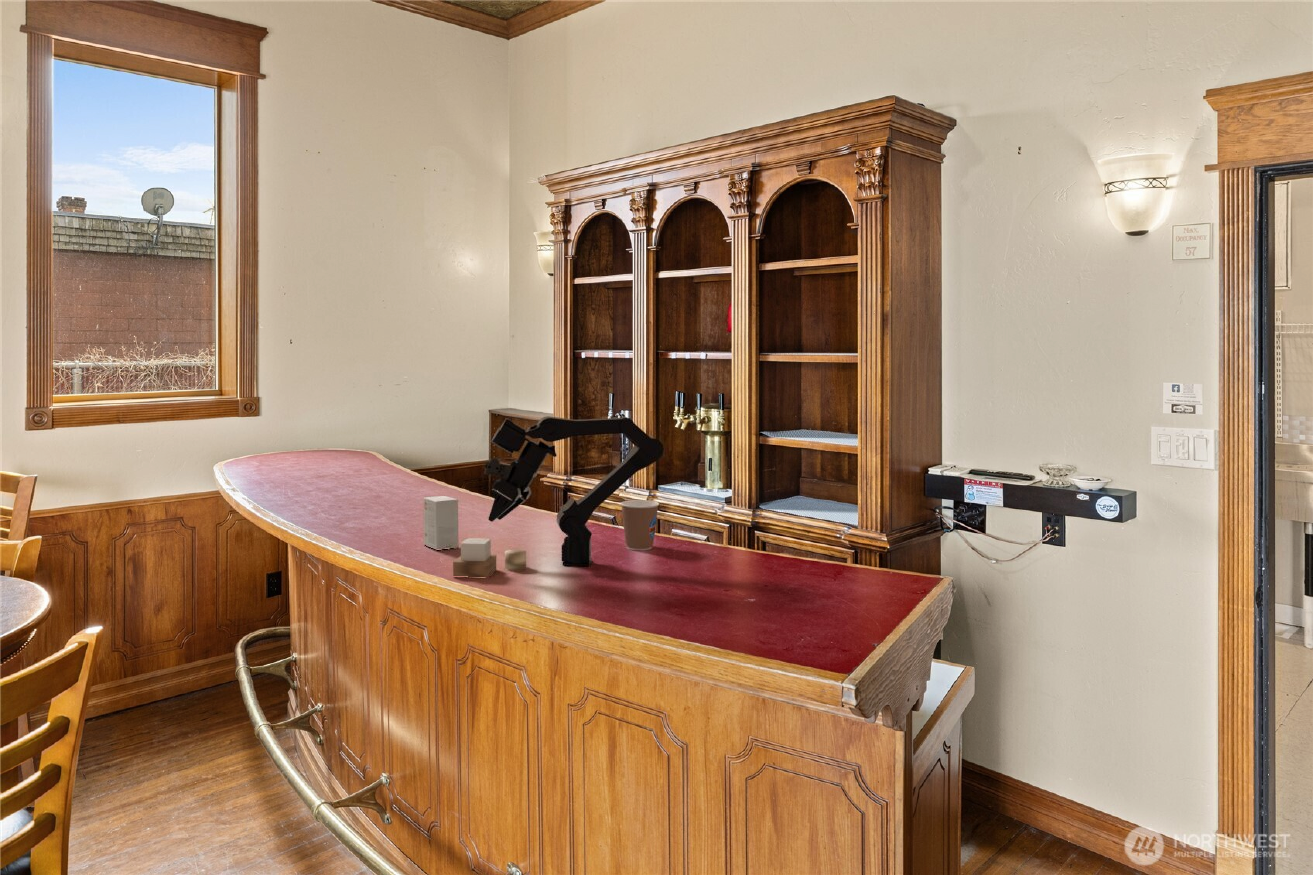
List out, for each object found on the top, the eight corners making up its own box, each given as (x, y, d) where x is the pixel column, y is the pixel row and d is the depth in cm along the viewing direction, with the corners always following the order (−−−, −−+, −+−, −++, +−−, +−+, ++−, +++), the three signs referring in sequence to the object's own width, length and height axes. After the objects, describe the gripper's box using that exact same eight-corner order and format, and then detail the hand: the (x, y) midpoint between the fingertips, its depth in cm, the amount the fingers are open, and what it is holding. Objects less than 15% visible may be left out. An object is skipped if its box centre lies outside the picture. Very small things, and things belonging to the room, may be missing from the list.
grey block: (490, 555, 195) (490, 538, 195) (484, 561, 190) (484, 543, 190) (467, 555, 196) (467, 538, 195) (461, 560, 190) (460, 543, 190)
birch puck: (528, 565, 201) (528, 549, 201) (523, 571, 196) (523, 554, 196) (507, 565, 201) (507, 549, 201) (502, 570, 196) (502, 553, 196)
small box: (459, 548, 218) (458, 499, 217) (436, 551, 214) (435, 501, 213) (445, 542, 225) (445, 495, 224) (423, 546, 221) (422, 497, 220)
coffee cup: (658, 552, 217) (658, 506, 216) (618, 551, 217) (619, 506, 216) (659, 543, 227) (659, 500, 226) (621, 543, 228) (621, 499, 227)
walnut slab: (496, 571, 197) (496, 554, 196) (488, 580, 189) (488, 562, 188) (462, 570, 197) (462, 553, 197) (453, 579, 189) (453, 561, 189)
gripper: (507, 447, 209) (474, 501, 208) (491, 444, 190) (455, 503, 190) (545, 470, 208) (512, 524, 208) (532, 469, 190) (497, 528, 189)
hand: (494, 519), depth 199 cm, fingers open, 9 cm apart
